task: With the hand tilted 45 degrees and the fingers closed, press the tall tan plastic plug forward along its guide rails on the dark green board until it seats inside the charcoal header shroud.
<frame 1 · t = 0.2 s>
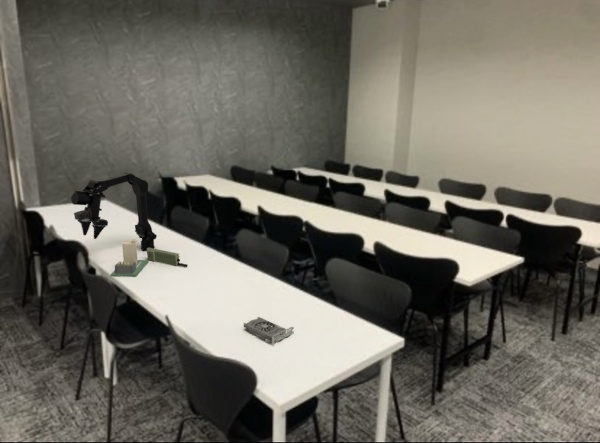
hand: (89, 237, 225), 15 cm above the table, fingers open, 9 cm apart
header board: (130, 268, 227), on the table
graphics card: (268, 333, 171), on the table
plug: (129, 253, 226), point 8 cm above the table, slide at 0.0 cm
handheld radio: (167, 264, 236), on the table
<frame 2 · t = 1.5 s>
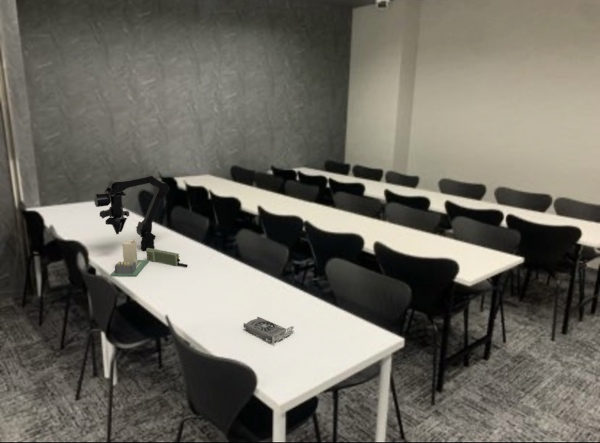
hand: (119, 233, 243), 12 cm above the table, fingers open, 4 cm apart
nothing on the table moved.
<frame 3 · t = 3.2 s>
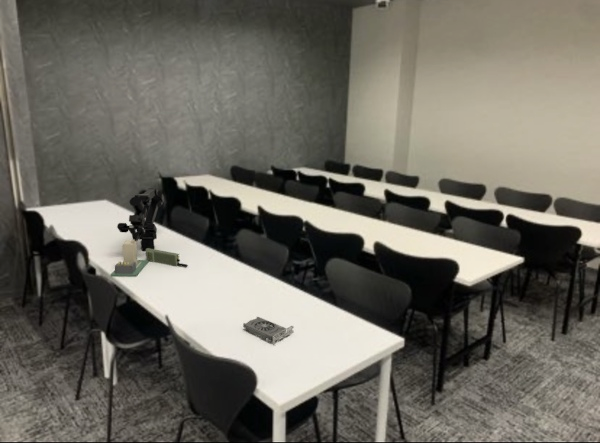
hand: (134, 242, 232), 11 cm above the table, fingers closed
nothing on the table moved.
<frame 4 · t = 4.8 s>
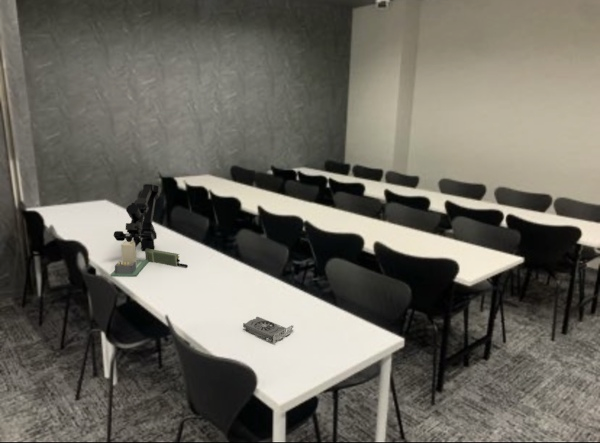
hand: (130, 251, 227), 8 cm above the table, fingers closed, pressing on plug
plug: (129, 254, 224), point 8 cm above the table, slide at 1.4 cm, touching gripper
everything else where it was.
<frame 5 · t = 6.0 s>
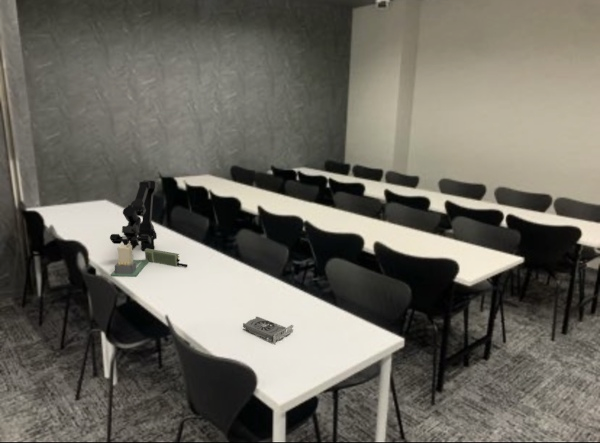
hand: (127, 254, 222), 8 cm above the table, fingers closed, pressing on plug
plug: (125, 257, 220), point 8 cm above the table, slide at 6.2 cm, touching gripper
everything else where it was.
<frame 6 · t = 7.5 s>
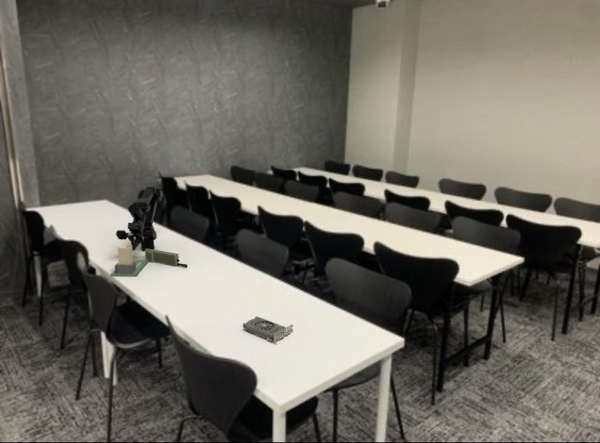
hand: (133, 250, 230), 8 cm above the table, fingers closed
plug: (125, 257, 220), point 8 cm above the table, slide at 6.0 cm
everything else where it was.
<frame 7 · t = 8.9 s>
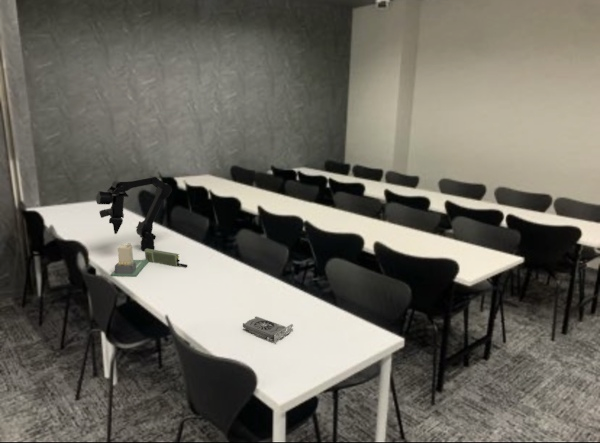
hand: (115, 233, 241), 12 cm above the table, fingers closed
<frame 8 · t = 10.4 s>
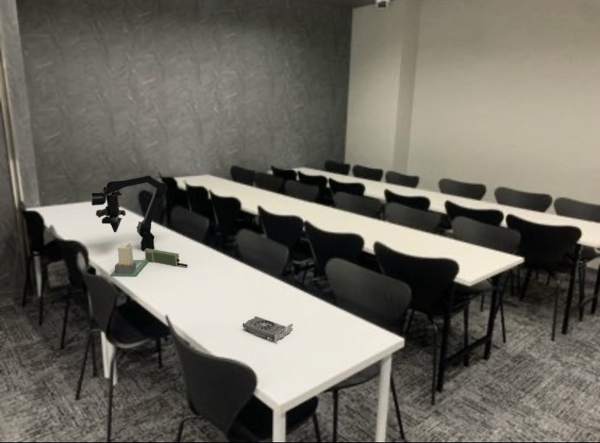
hand: (115, 232, 244), 12 cm above the table, fingers closed
at the end: plug slide at 6.0 cm; the gripper is holding nothing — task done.
